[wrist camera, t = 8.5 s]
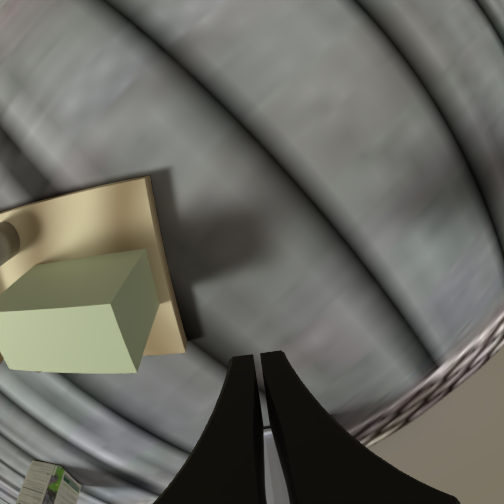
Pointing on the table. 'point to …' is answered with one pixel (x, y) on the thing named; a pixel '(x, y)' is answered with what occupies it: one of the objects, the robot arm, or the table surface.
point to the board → (94, 243)
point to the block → (80, 315)
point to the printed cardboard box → (48, 485)
